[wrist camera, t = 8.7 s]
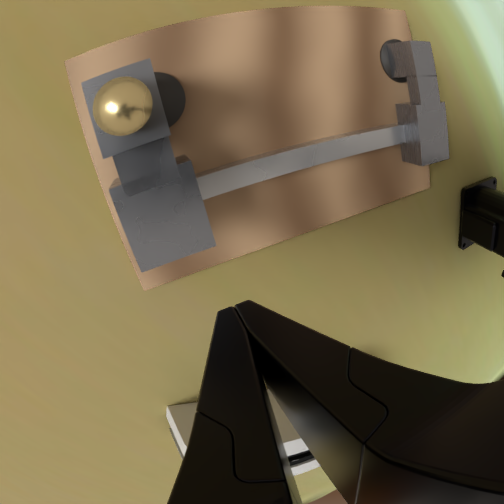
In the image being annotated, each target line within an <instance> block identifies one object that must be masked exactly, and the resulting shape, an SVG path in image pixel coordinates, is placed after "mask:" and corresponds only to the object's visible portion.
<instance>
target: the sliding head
mask: <svg viewBox="0 0 504 504" xmlns="http://www.w3.org/2000/svg"><path fill="white" fill-rule="evenodd" d="M81 85H82V89H83V93H84V97H85V100H86V104H87V107H88V111H89V115H90V118H91V121H92V125H93V128H94V131H95V135H96V138H97V141H98V144H99V148H100V151H101V154H102V157H103V159H106V158H108V157H111V156H112V157H113V160H114V163H115V166H116V169H117V172H118V175H119V178H116V179H114V181H113V183H112V184H111V186H110V188H109V193H110V195H111V198H112V201H113V204H114V206H115V209H116V212H117V214H118V217H119V219H120V222H121V224H122V227H123V229H124V232H125V234H126V237H127V239H128V242H129V244H130V247H131V249H132V252H133V254H134V256H135V259H136V261H137V263H138V266H139V268H140V270H141V272H145V271H148V270H151V269H153V268H156V267H159V266H162V265H164V264H167V263H170V262H173V261H175V260H178V259H181V258H184V257H187V256H189V255H192V254H195V253H198V252H201V251H203V250H206V249H209V248H212V247H215V246H217V245H216V242H215V239H214V235H213V232H212V229H211V226H210V222H209V219H208V216H207V213H206V209H205V206H204V203H203V199H202V196H201V193H200V189H199V186H198V183H197V179H196V176H195V172H194V169H193V166H192V162H191V160H190V159H189V158H188V157H187V156H186V155H185V154H184V155H181V156H177V157H174V153H173V150H172V147H171V143H170V140H169V136H170V135H171V133H170V129H169V126H168V122H167V119H166V115H165V112H164V108H163V105H162V101H161V97H160V94H159V90H158V86H157V83H156V79H155V75H154V71H153V67H152V64H151V60H150V58H149V59H145V60H142V61H139V62H136V63H133V64H130V65H127V66H124V67H121V68H118V69H115V70H112V71H110V72H107V73H104V74H102V75H99V76H96V77H94V78H91V79H89V80H86V81H84V82H82V83H81Z"/></svg>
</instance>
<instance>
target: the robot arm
mask: <svg viewBox="0 0 504 504" xmlns="http://www.w3.org/2000/svg"><path fill="white" fill-rule="evenodd" d="M496 184H497V180H496V178H495V177H490V178H487V179H485V180H482V181H480V182H477V183H475V184H472V185H470V186H468V187H465V188H463V190H462V192H461V217H460V234H459V248H460V249H462V250H464V249H465V248H467V247H469V246H470V245H472V244H474V243H476V244H478V245H480V246H482V247H484V248H485V249H487V250H489V251H493V252H495V253H496V254H498V255H500V256H502V257H504V193H503V192H501V191H498V190H496ZM501 276H502V277H504V270H503V272H502V275H501ZM264 382H265V383H266V385H267V387H268V389H269V390H270V392H271V393H272V395H273V397H274V398H275V400H276V401H277V403H278V404H279V406H280V407H281V409H282V410H283V412H284V413H285V415H286V416H287V418H288V419H289V421H290V422H291V424H292V425H293V427H294V428H295V430H296V431H297V433H298V434H299V436H300V437H301V439H302V440H303V442H304V443H305V444H306V446H307V447H308V449H309V450H310V452H311V453H312V455H313V456H314V457H315V459H316V460H317V462H318V463H319V465H320V466H321V467H322V469H323V470H324V472H325V473H326V474H327V476H328V477H329V479H330V480H331V481H332V483H333V484H334V485H335V487H336V488H337V490H338V491H339V492H340V493H341V495H342V496H343V498H344V499H345V500H346V502H347V503H348V504H504V380H500V381H496V382H492V383H484V384H472V383H464V382H459V381H455V380H451V379H447V378H443V377H439V376H436V375H432V374H428V373H424V372H421V371H417V370H414V369H410V368H407V367H403V366H400V365H397V364H394V363H391V362H388V361H385V360H382V359H380V358H377V357H375V356H372V355H369V354H367V353H365V352H362V351H360V350H358V349H355V348H350V346H348V345H346V344H344V343H341V342H339V341H337V340H335V339H332V338H330V337H328V336H326V335H324V334H321V333H319V332H317V331H315V330H313V329H310V328H308V327H306V326H304V325H302V324H300V323H297V322H295V321H293V320H291V319H289V318H287V317H285V316H282V315H280V314H278V313H276V312H274V311H272V310H270V309H268V308H265V307H263V306H261V305H259V304H257V303H255V302H253V301H251V300H247V301H244V302H241V303H239V304H236V305H235V307H228V308H225V309H223V310H220V311H218V313H217V317H216V321H215V325H214V330H213V334H212V339H211V343H210V348H209V352H208V357H207V361H206V366H205V370H204V375H203V379H202V384H201V389H200V393H199V398H198V403H197V407H196V411H197V412H196V413H195V416H194V421H193V426H192V430H191V434H190V438H189V442H188V446H187V449H186V452H185V455H184V458H183V461H182V464H181V467H180V470H179V473H178V475H177V478H176V481H175V483H174V486H173V489H172V492H171V494H170V497H169V500H168V502H167V504H302V501H301V498H300V495H299V492H298V489H297V485H296V482H295V479H294V476H293V473H292V470H291V467H290V463H289V460H288V457H287V454H286V451H285V447H284V444H283V441H282V438H281V435H280V431H279V428H278V425H277V421H276V418H275V415H274V412H273V408H272V405H271V402H270V398H269V395H268V392H267V389H266V386H265V383H264Z"/></svg>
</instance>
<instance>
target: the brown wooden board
mask: <svg viewBox="0 0 504 504" xmlns="http://www.w3.org/2000/svg"><path fill="white" fill-rule="evenodd" d="M403 41H412V38H411V33H410V29H409V25H408V21H407V17H406V13H405V11H403V10H394V9H385V8H373V7H356V6H298V7H281V8H269V9H258V10H250V11H242V12H235V13H228V14H222V15H216V16H210V17H205V18H200V19H195V20H190V21H185V22H181V23H177V24H173V25H168V26H165V27H161V28H157V29H153V30H150V31H146V32H143V33H139V34H136V35H133V36H130V37H127V38H124V39H120V40H118V41H115V42H112V43H109V44H106V45H103V46H101V47H98V48H95V49H93V50H90V51H88V52H85V53H83V54H80V55H78V56H75V57H73V58H71V59H68V60H66V61H65V66H66V70H67V74H68V78H69V82H70V86H71V90H72V94H73V98H74V102H75V105H76V109H77V112H78V116H79V119H80V123H81V126H82V130H83V133H84V136H85V139H86V143H87V146H88V149H89V152H90V155H91V158H92V161H93V164H94V167H95V170H96V173H97V176H98V179H99V181H100V184H101V187H102V190H103V193H104V195H105V198H106V201H107V203H108V206H109V209H110V211H111V214H112V216H113V219H114V222H115V224H116V227H117V229H118V232H119V234H120V236H121V239H122V241H123V244H124V246H125V248H126V251H127V253H128V256H129V258H130V260H131V262H132V265H133V267H134V269H135V272H136V274H137V276H138V278H139V280H140V283H141V285H142V287H143V289H144V291H146V290H148V289H151V288H154V287H157V286H159V285H162V284H165V283H168V282H170V281H173V280H176V279H179V278H182V277H184V276H187V275H190V274H193V273H195V272H198V271H201V270H204V269H207V268H209V267H212V266H215V265H218V264H220V263H223V262H226V261H229V260H231V259H234V258H237V257H240V256H243V255H245V254H248V253H251V252H254V251H256V250H259V249H262V248H265V247H267V246H270V245H273V244H276V243H279V242H281V241H284V240H287V239H290V238H292V237H295V236H298V235H301V234H304V233H306V232H309V231H312V230H315V229H317V228H320V227H323V226H326V225H328V224H331V223H334V222H337V221H340V220H342V219H345V218H348V217H351V216H353V215H356V214H359V213H362V212H364V211H367V210H370V209H373V208H376V207H378V206H381V205H384V204H387V203H389V202H392V201H395V200H398V199H400V198H403V197H406V196H409V195H412V194H414V193H417V192H420V191H423V190H425V189H428V188H430V174H429V165H426V166H418V165H415V164H411V163H408V162H404V161H402V157H401V146H400V144H397V145H393V146H389V147H384V148H380V149H376V150H372V151H368V152H364V153H360V154H356V155H353V156H349V157H345V158H341V159H337V160H334V161H330V162H326V163H323V164H319V165H315V166H312V167H308V168H305V169H301V170H298V171H294V172H291V173H287V174H284V175H281V176H277V177H274V178H271V179H267V180H264V181H261V182H257V183H254V184H251V185H248V186H245V187H241V188H238V189H235V190H232V191H229V192H226V193H223V194H220V195H217V196H214V197H211V198H208V199H205V200H203V203H204V206H205V209H206V213H207V216H208V219H209V222H210V226H211V229H212V232H213V235H214V239H215V242H216V245H217V246H215V247H212V248H209V249H206V250H203V251H201V252H198V253H195V254H192V255H189V256H187V257H184V258H181V259H178V260H175V261H173V262H170V263H167V264H164V265H162V266H159V267H156V268H153V269H151V270H148V271H145V272H141V270H140V268H139V266H138V263H137V261H136V259H135V256H134V254H133V252H132V249H131V247H130V244H129V242H128V239H127V237H126V234H125V232H124V229H123V227H122V224H121V222H120V219H119V217H118V214H117V212H116V209H115V206H114V204H113V201H112V198H111V195H110V193H109V188H110V186H111V184H112V183H113V181H114V179H116V178H119V175H118V172H117V169H116V166H115V163H114V160H113V157H112V156H111V157H108V158H106V159H103V157H102V154H101V151H100V148H99V144H98V141H97V138H96V135H95V131H94V128H93V125H92V121H91V118H90V115H89V111H88V107H87V104H86V100H85V97H84V93H83V89H82V85H81V83H82V82H84V81H86V80H89V79H91V78H94V77H96V76H99V75H102V74H104V73H107V72H110V71H112V70H115V69H118V68H121V67H124V66H127V65H130V64H133V63H136V62H139V61H142V60H145V59H149V58H150V60H151V64H152V67H153V71H154V75H155V79H156V83H157V86H158V90H159V94H160V97H161V101H162V105H163V108H164V112H165V115H166V119H167V122H168V126H169V129H170V133H171V135H170V136H169V140H170V143H171V147H172V150H173V153H174V157H177V156H181V155H184V154H185V155H186V156H187V157H188V158H189V159H190V160H191V162H192V166H193V169H194V172H195V174H196V173H199V172H202V171H205V170H208V169H212V168H215V167H218V166H221V165H225V164H228V163H231V162H235V161H238V160H241V159H245V158H248V157H252V156H255V155H259V154H262V153H266V152H270V151H273V150H277V149H281V148H284V147H288V146H292V145H296V144H300V143H304V142H308V141H312V140H316V139H321V138H325V137H329V136H333V135H338V134H342V133H347V132H352V131H356V130H361V129H366V128H371V127H376V126H381V125H386V124H392V123H397V122H398V121H397V113H396V107H395V104H398V103H406V102H410V97H409V91H408V85H407V79H406V77H396V78H392V74H391V69H390V64H389V59H388V54H387V49H386V45H385V44H390V43H396V42H403Z"/></svg>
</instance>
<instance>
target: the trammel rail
mask: <svg viewBox="0 0 504 504" xmlns="http://www.w3.org/2000/svg"><path fill="white" fill-rule="evenodd" d="M385 45H386V49H387V54H388V59H389V64H390V69H391V74H392V78H396V77H406V79H407V85H408V91H409V97H410V102H406V103H398V104H395V107H396V113H397V121H398V122H397V123H392V124H386V125H381V126H376V127H371V128H366V129H361V130H356V131H352V132H347V133H342V134H338V135H333V136H329V137H325V138H321V139H316V140H312V141H308V142H304V143H300V144H296V145H292V146H288V147H284V148H281V149H277V150H273V151H270V152H266V153H262V154H259V155H255V156H252V157H248V158H245V159H241V160H238V161H235V162H231V163H228V164H225V165H221V166H218V167H215V168H212V169H208V170H205V171H202V172H199V173H196V174H195V176H196V179H197V183H198V186H199V189H200V193H201V196H202V199H203V200H205V199H208V198H211V197H214V196H217V195H220V194H223V193H226V192H229V191H232V190H235V189H238V188H241V187H245V186H248V185H251V184H254V183H257V182H261V181H264V180H267V179H271V178H274V177H277V176H281V175H284V174H287V173H291V172H294V171H298V170H301V169H305V168H308V167H312V166H315V165H319V164H323V163H326V162H330V161H334V160H337V159H341V158H345V157H349V156H353V155H356V154H360V153H364V152H368V151H372V150H376V149H380V148H384V147H389V146H393V145H397V144H400V146H401V157H402V161H404V162H408V163H411V164H415V165H418V166H426V165H429V164H432V163H436V162H439V161H443V160H446V159H449V144H448V130H447V119H446V109H445V102H440V96H439V89H438V82H437V76H436V70H435V64H434V59H433V54H432V49H431V44H430V42H425V41H403V42H396V43H390V44H385Z"/></svg>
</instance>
